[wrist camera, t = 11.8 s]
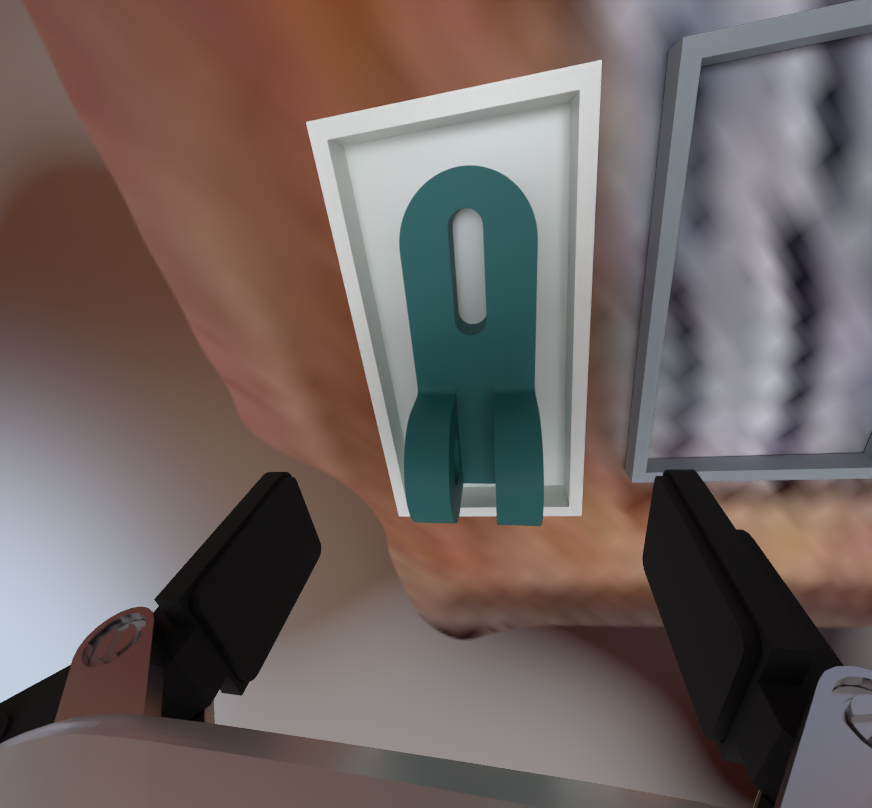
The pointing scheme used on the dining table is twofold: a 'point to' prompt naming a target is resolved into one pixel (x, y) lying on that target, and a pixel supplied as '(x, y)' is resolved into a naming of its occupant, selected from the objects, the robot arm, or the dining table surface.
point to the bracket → (472, 353)
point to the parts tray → (473, 244)
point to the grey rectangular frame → (673, 152)
